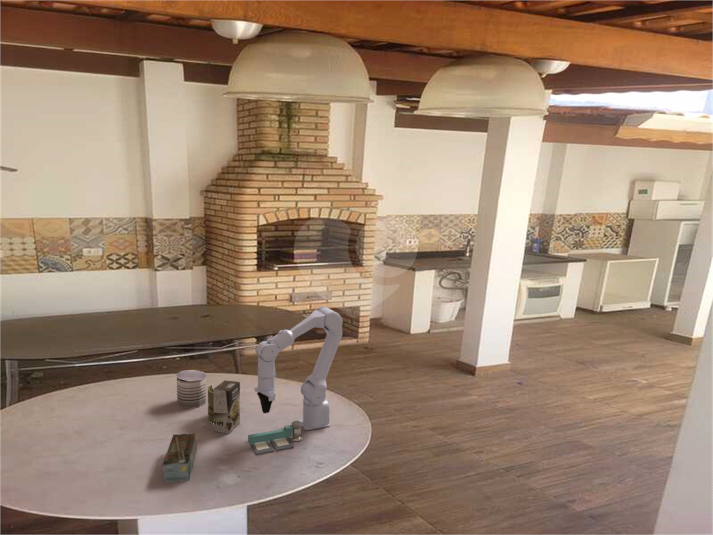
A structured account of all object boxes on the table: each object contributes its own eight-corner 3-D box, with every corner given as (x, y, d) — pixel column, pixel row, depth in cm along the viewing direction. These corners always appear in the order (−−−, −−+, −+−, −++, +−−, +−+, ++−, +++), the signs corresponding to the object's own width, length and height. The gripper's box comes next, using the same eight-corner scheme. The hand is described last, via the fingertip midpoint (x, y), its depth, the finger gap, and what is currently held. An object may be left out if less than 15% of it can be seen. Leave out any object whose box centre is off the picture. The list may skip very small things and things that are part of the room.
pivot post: (300, 434, 199) (301, 422, 198) (305, 440, 194) (305, 428, 194) (287, 436, 197) (287, 424, 196) (291, 442, 192) (292, 431, 191)
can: (184, 395, 228) (184, 367, 226) (211, 398, 226) (210, 370, 224) (171, 407, 217) (171, 378, 215) (199, 409, 215) (199, 380, 213)
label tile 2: (284, 434, 198) (284, 433, 198) (293, 447, 189) (293, 446, 189) (268, 437, 195) (268, 436, 195) (276, 451, 186) (276, 449, 186)
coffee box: (229, 434, 197) (229, 391, 194) (213, 431, 198) (212, 388, 195) (240, 422, 206) (240, 381, 203) (224, 420, 207) (224, 379, 204)
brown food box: (243, 389, 206) (214, 396, 199) (244, 420, 208) (215, 427, 201) (231, 379, 215) (203, 385, 208) (231, 408, 217) (203, 415, 210)
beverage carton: (161, 483, 166) (161, 462, 165) (172, 450, 185) (172, 432, 184) (189, 481, 168) (189, 461, 166) (197, 449, 186) (197, 431, 185)
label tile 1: (265, 438, 195) (265, 436, 195) (273, 451, 186) (273, 450, 186) (248, 441, 192) (248, 439, 192) (256, 455, 183) (256, 453, 183)
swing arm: (299, 431, 198) (299, 420, 197) (303, 435, 194) (303, 424, 194) (247, 440, 190) (247, 429, 189) (250, 445, 187) (250, 433, 186)
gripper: (249, 370, 199) (249, 405, 201) (260, 384, 186) (260, 422, 188) (268, 367, 202) (268, 402, 204) (280, 382, 189) (280, 419, 191)
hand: (265, 412), depth 196 cm, fingers closed
